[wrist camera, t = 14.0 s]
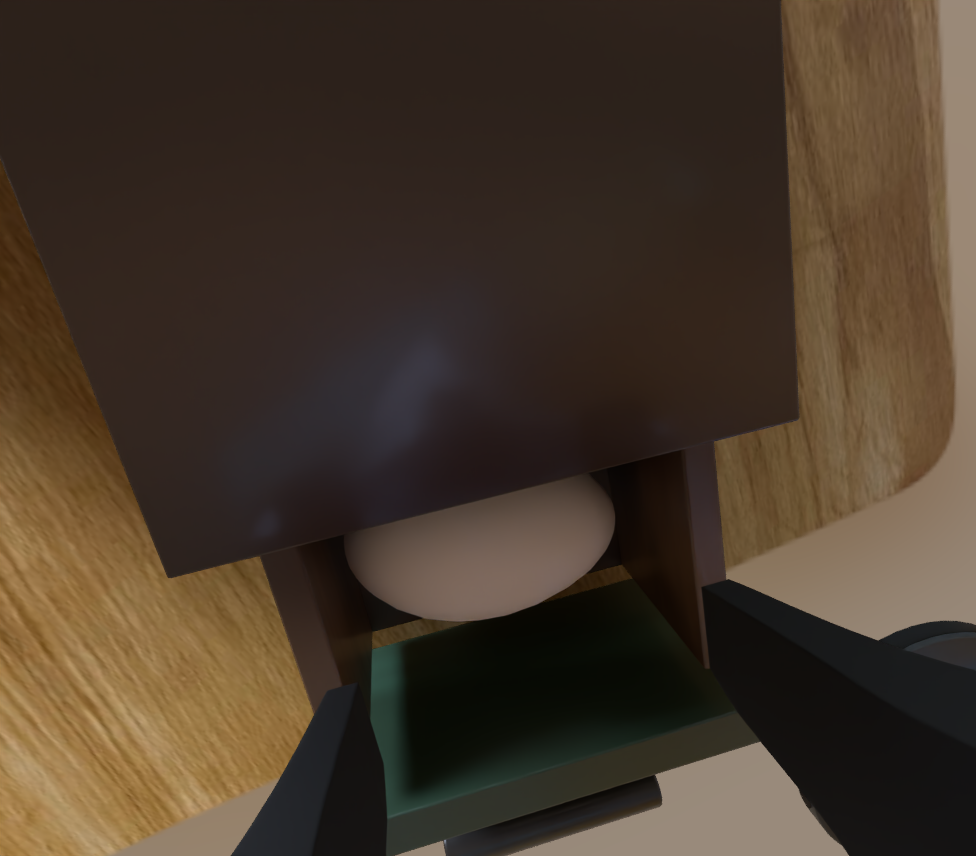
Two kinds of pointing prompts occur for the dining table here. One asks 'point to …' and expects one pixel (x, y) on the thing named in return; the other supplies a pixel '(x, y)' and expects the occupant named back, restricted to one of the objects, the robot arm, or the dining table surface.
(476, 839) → the drawer
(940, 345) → the dining table surface
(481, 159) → the cabinet
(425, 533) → the egg
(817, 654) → the robot arm
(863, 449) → the dining table surface
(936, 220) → the dining table surface
